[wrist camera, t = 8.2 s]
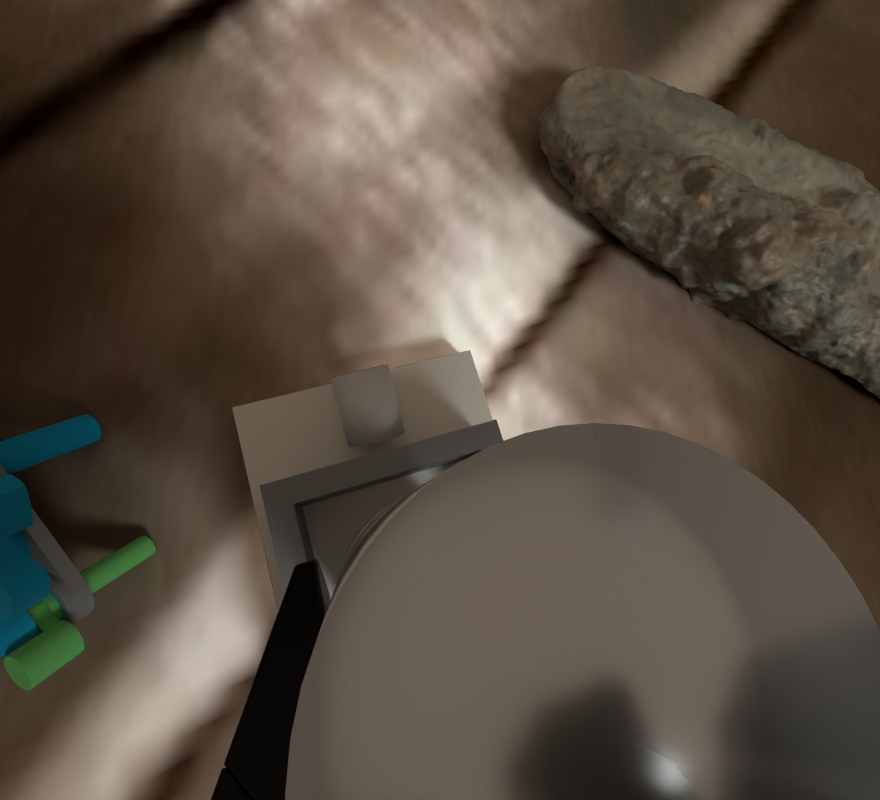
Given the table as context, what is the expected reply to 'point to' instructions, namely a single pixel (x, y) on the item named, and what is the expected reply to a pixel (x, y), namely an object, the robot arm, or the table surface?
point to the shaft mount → (354, 454)
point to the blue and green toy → (46, 562)
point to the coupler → (591, 637)
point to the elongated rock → (726, 210)
